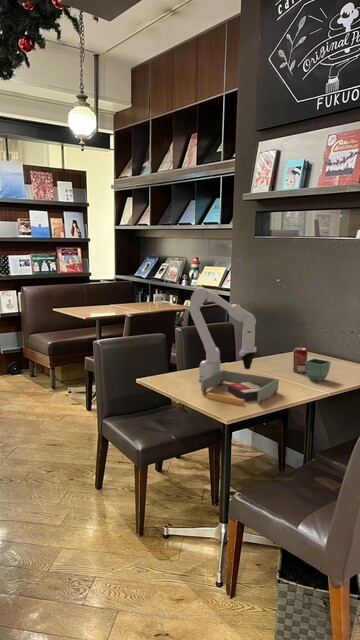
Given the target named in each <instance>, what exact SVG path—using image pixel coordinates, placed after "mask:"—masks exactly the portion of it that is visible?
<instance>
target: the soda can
mask: <svg viewBox="0 0 360 640" xmlns="http://www.w3.org/2000/svg"><path fill="white" fill-rule="evenodd" d="M292 356H293V357H292V371H293V372H294V373H297V374H303V373H307V372H306V361H308V351H307V348H306V347H301V346H299V347H298V346H297V347H295V348H294V350H293V355H292Z"/></svg>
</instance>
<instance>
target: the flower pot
mask: <svg viewBox="0 0 360 640" xmlns="http://www.w3.org/2000/svg"><path fill="white" fill-rule="evenodd" d="M330 367H331V361H330V360H323V359H318V358H311V359H309V360H307V361H306V372H305V373H306V375H307V377H308V378H309V380H311V381H315V382H323V380H325V379H326V378H327V376H328V375H329V372H330Z"/></svg>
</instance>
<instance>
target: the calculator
mask: <svg viewBox="0 0 360 640" xmlns="http://www.w3.org/2000/svg"><path fill="white" fill-rule="evenodd" d="M259 389H261V387H259V386H257V385H254V384H252V383H250V382H245V383H240V384H239V383H229V384H228V385H227V392H228V393H230V394H231V395H233V396H235V398H239V399H244V402H251V401H258V390H259ZM267 399H268V397H267V398H266V399H265V400H267Z"/></svg>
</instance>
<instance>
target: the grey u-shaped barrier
mask: <svg viewBox="0 0 360 640" xmlns="http://www.w3.org/2000/svg"><path fill="white" fill-rule="evenodd" d="M224 382H225V383H226V382H227V383H229V384H236V383H239V384H240V383H245V382H250V383H252V384H254V385H257V386H259V387H261V389H259V390H258V400H256V402H257V403H258V404H260V405H262V404H263V401H264V400H267V399H268V397H270V396H272V395H277V392H278V391H279V379H278V378H274V377H267V376H261V375H255V374H249V373H242V372H238V371H237V372H236V371H230V370H225V369H223V370H220V372H218V373H215V374H213V375H211V376H209V377H206V378H204V379H202V380H201V381H200V384H201V385H200V392H202V393H206V392H207V390H208V389H211V388H213V387H214V386H217V385H223V383H224ZM266 398H267V399H266Z"/></svg>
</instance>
